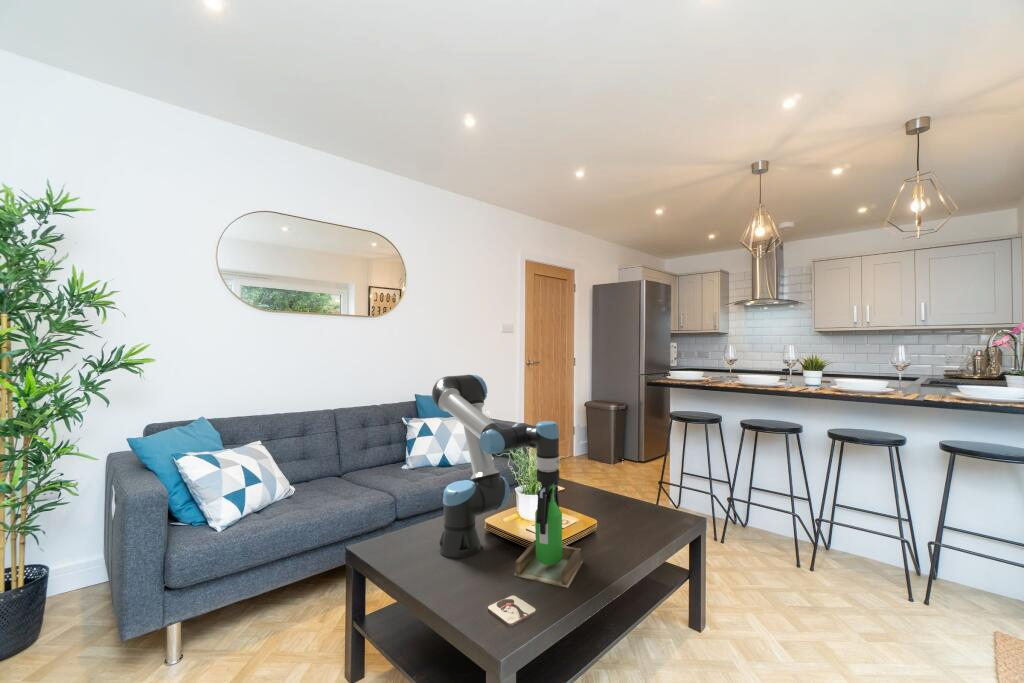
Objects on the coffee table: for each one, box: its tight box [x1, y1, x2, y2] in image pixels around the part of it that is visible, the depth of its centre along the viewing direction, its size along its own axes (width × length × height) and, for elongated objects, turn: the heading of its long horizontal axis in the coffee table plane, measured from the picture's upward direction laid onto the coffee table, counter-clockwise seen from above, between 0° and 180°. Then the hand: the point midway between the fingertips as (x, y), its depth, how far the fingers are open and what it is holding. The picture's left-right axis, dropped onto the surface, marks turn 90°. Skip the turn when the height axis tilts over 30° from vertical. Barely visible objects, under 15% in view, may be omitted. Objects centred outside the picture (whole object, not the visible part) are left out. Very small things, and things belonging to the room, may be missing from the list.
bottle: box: [534, 484, 563, 565], centre depth 146 cm, size 9×9×25 cm
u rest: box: [513, 539, 584, 589], centre depth 147 cm, size 18×17×5 cm
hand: (548, 537), depth 146 cm, fingers closed on bottle, 9 cm apart
